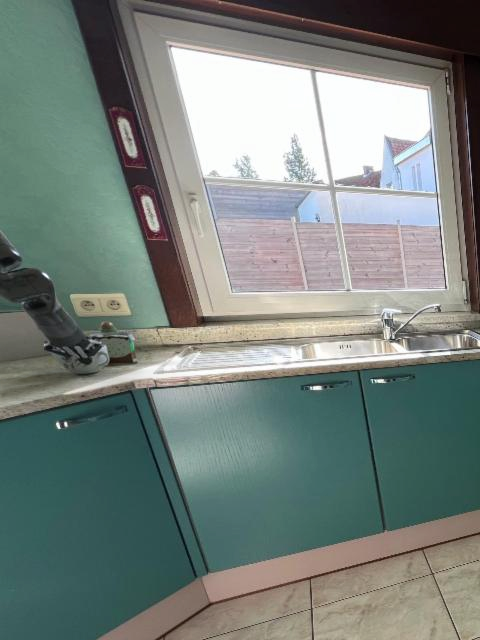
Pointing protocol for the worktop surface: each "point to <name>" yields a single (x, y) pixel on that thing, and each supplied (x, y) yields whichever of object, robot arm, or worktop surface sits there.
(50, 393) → the worktop surface
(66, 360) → the teacup
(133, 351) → the food container
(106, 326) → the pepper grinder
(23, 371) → the worktop surface
